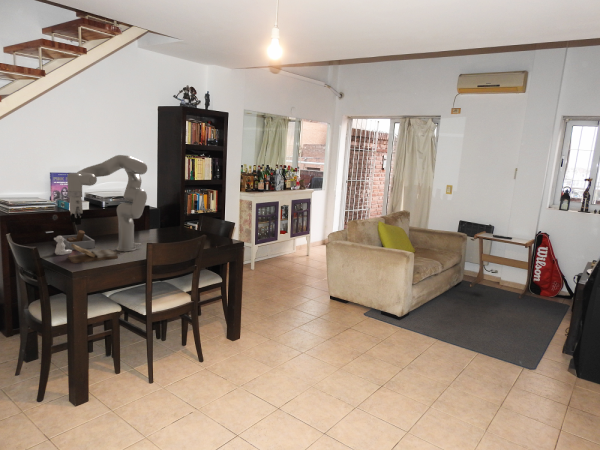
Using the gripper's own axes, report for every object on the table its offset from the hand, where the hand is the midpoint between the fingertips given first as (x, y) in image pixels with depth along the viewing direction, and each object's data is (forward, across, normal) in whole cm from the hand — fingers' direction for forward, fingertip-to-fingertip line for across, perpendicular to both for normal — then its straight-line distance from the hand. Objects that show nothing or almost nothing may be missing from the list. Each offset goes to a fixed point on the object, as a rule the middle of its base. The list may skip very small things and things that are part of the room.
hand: (75, 223), depth 254 cm
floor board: (+22, 0, -9) cm, 24 cm away
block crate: (+22, +39, -10) cm, 46 cm away
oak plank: (+18, 0, -3) cm, 18 cm away
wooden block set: (+23, +39, -10) cm, 46 cm away
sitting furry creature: (+23, +19, +4) cm, 30 cm away
